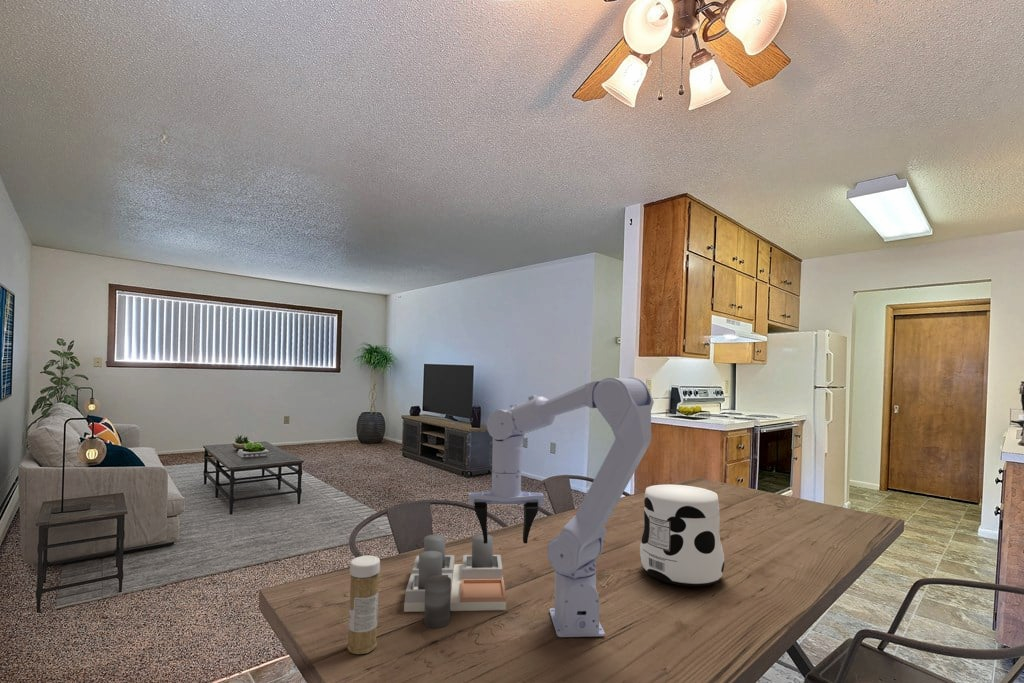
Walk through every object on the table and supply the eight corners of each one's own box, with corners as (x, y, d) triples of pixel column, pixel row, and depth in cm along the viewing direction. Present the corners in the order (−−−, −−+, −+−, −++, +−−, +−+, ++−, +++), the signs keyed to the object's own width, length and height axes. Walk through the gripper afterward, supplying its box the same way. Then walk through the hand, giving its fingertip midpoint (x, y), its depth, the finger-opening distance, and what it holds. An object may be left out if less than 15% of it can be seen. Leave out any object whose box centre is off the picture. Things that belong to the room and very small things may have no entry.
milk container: (719, 566, 116) (718, 486, 117) (730, 599, 99) (729, 505, 100) (640, 558, 120) (640, 481, 121) (638, 587, 104) (638, 497, 105)
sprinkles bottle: (350, 640, 81) (353, 554, 82) (379, 639, 82) (382, 554, 83) (344, 656, 77) (347, 565, 78) (374, 655, 77) (377, 564, 78)
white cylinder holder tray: (505, 610, 93) (506, 562, 93) (403, 611, 91) (405, 563, 92) (500, 570, 111) (501, 531, 111) (415, 571, 110) (416, 531, 110)
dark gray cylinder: (449, 627, 86) (450, 585, 86) (423, 628, 86) (424, 585, 86) (450, 615, 90) (451, 575, 91) (425, 615, 90) (426, 575, 90)
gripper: (541, 467, 104) (540, 535, 103) (470, 466, 103) (468, 535, 102) (545, 474, 97) (544, 547, 96) (469, 473, 96) (467, 547, 95)
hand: (505, 541), depth 99 cm, fingers open, 7 cm apart
